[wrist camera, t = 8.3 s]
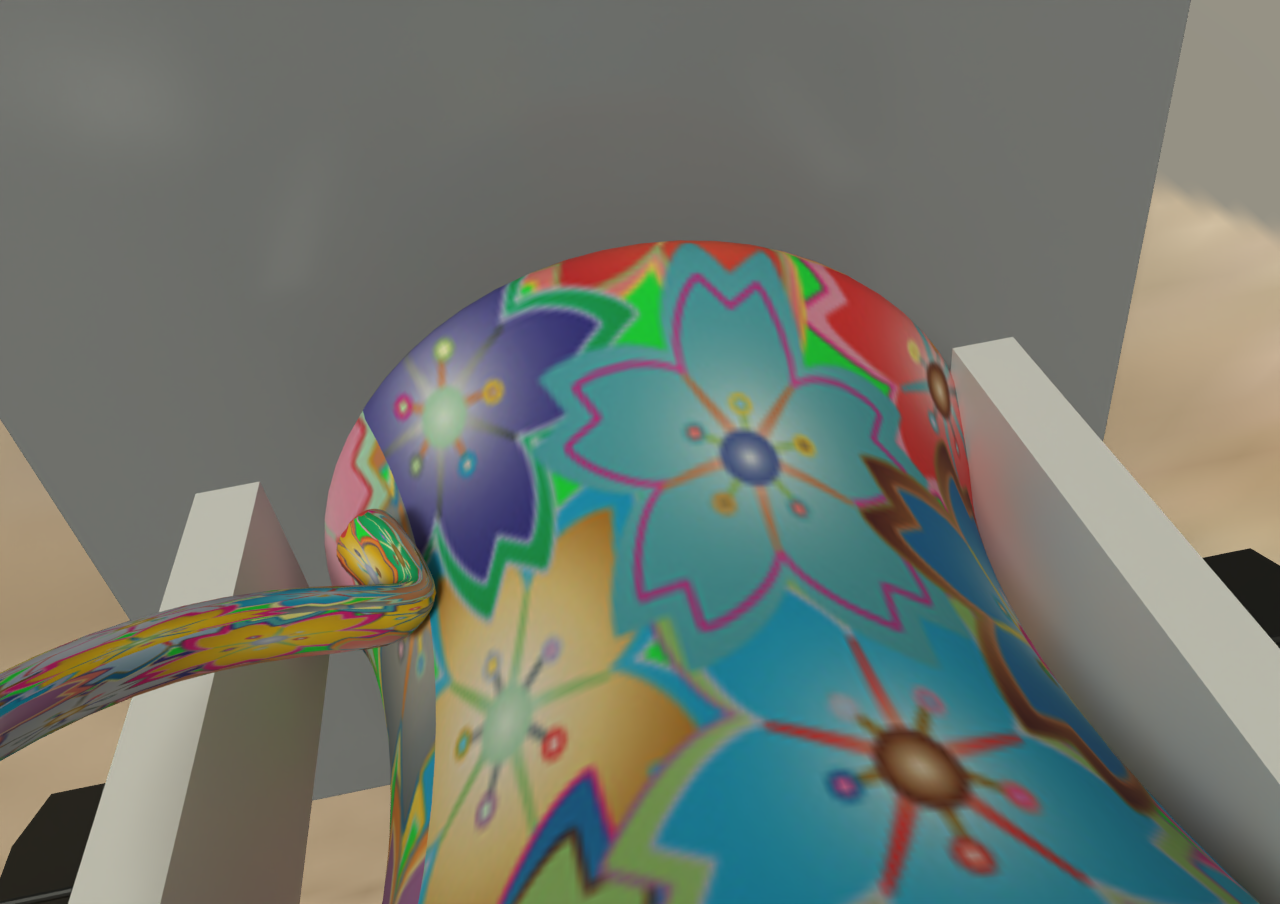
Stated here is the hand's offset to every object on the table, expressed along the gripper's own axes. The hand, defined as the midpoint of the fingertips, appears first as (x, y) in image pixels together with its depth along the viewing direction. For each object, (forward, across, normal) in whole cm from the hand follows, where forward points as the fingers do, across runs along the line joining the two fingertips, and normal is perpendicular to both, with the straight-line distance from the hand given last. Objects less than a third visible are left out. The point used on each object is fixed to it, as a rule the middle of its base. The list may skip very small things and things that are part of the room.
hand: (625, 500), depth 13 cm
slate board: (+3, 0, 0) cm, 3 cm away
